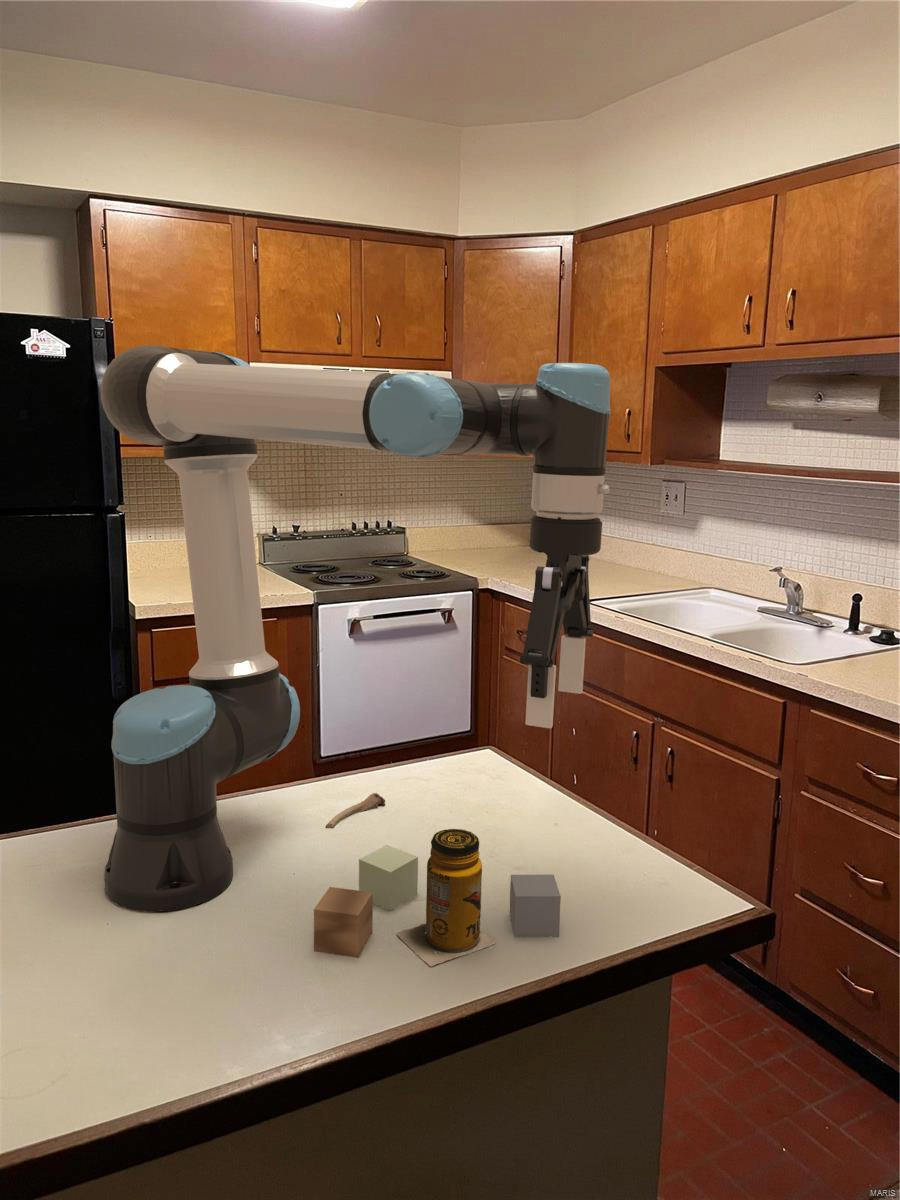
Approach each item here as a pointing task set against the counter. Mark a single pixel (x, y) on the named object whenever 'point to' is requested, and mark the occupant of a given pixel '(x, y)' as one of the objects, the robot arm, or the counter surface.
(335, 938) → the walnut cube
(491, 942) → the condiment
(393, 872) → the sage cube
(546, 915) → the slate cube
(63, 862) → the counter surface
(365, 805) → the bone
